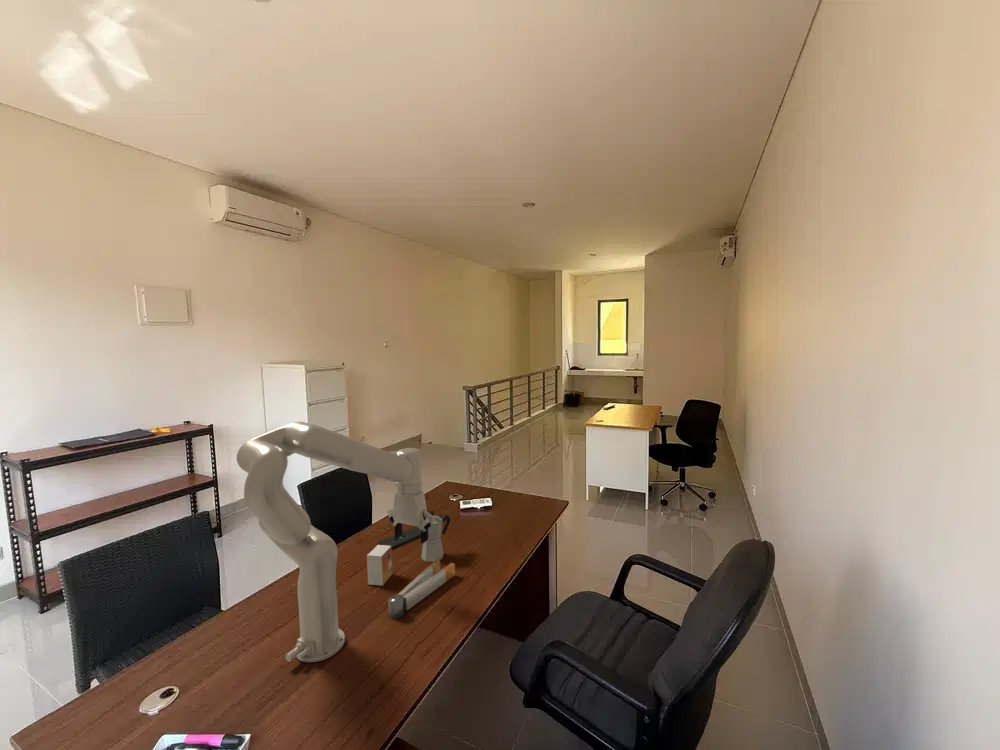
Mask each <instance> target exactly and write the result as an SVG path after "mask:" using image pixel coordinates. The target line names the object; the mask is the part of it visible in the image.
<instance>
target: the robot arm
mask: <svg viewBox="0 0 1000 750" xmlns="http://www.w3.org/2000/svg"><path fill="white" fill-rule="evenodd" d="M293 454H297V455H300V456H302V457H304V458H308V459H311V460H314V461H318V462H321V463H325V464H328V465H332V466H335V467H338V468H342V469H346V470H349V471H352V472H357V473H362V474H366V475H369V476H373V477H377V478H380V479H383V480H386V481H390V482H393V483H394V486H395V487H396V488H397V490H396V491H395V493H394V497H393V498H394V499H393V507H392V508H390V509H389V510H387V516H388V517H389V521H390V522H391V523H392V527H394V528H393V529H394V535H395V539H397V538H399V537H400V536H402V532H403V525H406V526H407V525H408V526H413V527H416V526H419V527H420V528H421V529H422V531H421V537H420V543H421V544H422V545H423V543H424V542H426V541H427V540H428V528H430V526H431V525H432V524H433V522H434V520H435V517H434V516H435V515H434V516H433V515H431V514H430V513H428V510H427V503H426V501H427V500H426V497H425V492H424V490H423V489H422V486H423V485H422V458H421V454H422V453H421V452H420V449H418V448H416V447H406V448H402V449H398V450H392V451H390V450H389V451H386V450H384V449H381V448H378V447H376V446H374V445H371V444H369V443H366V442H364V441H362V440H359V439H356V438H353V437H350V436H347V435H345V434H342V433H339V432H337V431H334V430H331V429H328V428H326V427H322V426H320V425H317V424H313V423H308V422H305V421H296V422H291V423H289V424H286V425H284V426H281V427H279V428H276V429H273V430H270V431H268V432H265V433H263V434H262V435H261V434H260V435H259V436H256V437H254V438H251V439H249V440H247V441H246V442H244V443H243V444H242V445H241V446H240V448H239V449H238V451H237V453H236V462H237V465H238V466H239V468H240V469H241V470H242V471H244V472H246V473H247V476H246V478H245V482H244V489H243V498H244V502H245V504H246V506H247V507H248V508H249V510H250V511H251V512H252V514H253V515H254V516H255V517H256V518H257V519H258V525H259V528H260V530H261V531H262V532H263V533H264V534H265V535H266V536H267V537H268V538H269V539H270V540H271V542H273V543H274V545H276V547H277V548H278V549H280V550H281V552H283V554H285V556H287V557H288V558H289V559H290V560H291V561H293V562H294V563H295V564H296V565H298V568H299V574H298V575H299V576H298V578H297V579H298V580H297V602H298V603H297V604H298V616H299V617H298V618H299V619H298V620H299V632H300V633H299V634H300V636H299V637H298V638H297V640H296V644H295V647H294V648H293V649H291V650H290V651H289V652H288V653H285V656H284V657H285V661H287V662H292V660H293V659H295V658H297V660H299V661H300V662H304V663H317V662H321V661H324V660H326V659H329V658H331V657H333V656H334V655H336V654H337V653H338V652H339V651H340V650H341V649H342V647H344V644H345V641H346V634H345V632H344V631H343V630H342V629H341V628H339V619H338V618H339V617H338V599H337V580H336V579H337V578H336V576H337V575H336V571H337V563H338V562H337V561H338V547H337V544H336V542H335V541H334V540H333V538H331V537H330V536H329V535H328V534H326V533H324V532H323V531H322V530H319V529H318V528H316V527H315V526H314V525H312V523H311V518H310V516H309V513H307V511H306V510H305V509H304V508H302V507H301V505H299V504H298V502H297V501H296V500H295V499H294V498H293V497H292V496H291V495H290V494H289V492H288V491H287V489H286V488H285V486H284V476H285V475H286V472H287V467H288V462H289V460H288V457H290V456H292V455H293ZM426 519H428V520H429V521H428V523H427V521H426ZM422 523H423V524H424V525H423V524H422Z"/></svg>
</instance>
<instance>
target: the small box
mask: <svg viewBox="0 0 1000 750" xmlns="http://www.w3.org/2000/svg"><path fill="white" fill-rule="evenodd" d="M366 564H367V566H366V567H367V584H368V585H370V586H384V585H385V583H386V582H387V581H388V580H389V579H390V578H391V577H392V575H394V572H393V549H392V546H387V545H378V544H377V545H376V546H375V547H374V548H373V549H372V550H371V551H369V553H367V554H366Z"/></svg>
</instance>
